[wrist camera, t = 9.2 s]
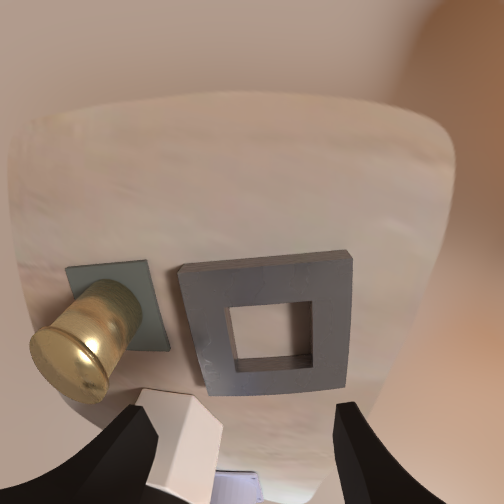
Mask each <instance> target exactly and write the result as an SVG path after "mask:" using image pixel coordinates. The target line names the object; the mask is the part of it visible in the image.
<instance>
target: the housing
mask: <svg viewBox="0 0 504 504" xmlns="http://www.w3.org/2000/svg"><path fill="white" fill-rule="evenodd" d="M177 275H178V279H179V284H180V288H181V293H182V297H183V301H184V306H185V310H186V314H187V318H188V322H189V326H190V330H191V334H192V338H193V342H194V346H195V350H196V353H197V357H198V361H199V364H200V368H201V371H202V375H203V378H204V382H205V385H206V388H207V392H208V395H209V396H256V395H276V394H290V393H302V392H312V391H321V390H329V389H337V388H344V387H345V384H346V375H347V365H348V354H349V341H350V326H351V307H352V275H353V258H352V257H351V255H350V254H349V253H348V251H347V250H338V251H327V252H316V253H305V254H293V255H282V256H271V257H259V258H248V259H236V260H225V261H213V262H201V263H189V264H184V265H183V266H182V267H181V269H180V270H179V271H178V273H177ZM303 301H310V338H311V354H307V355H296V356H284V357H271V358H254V359H238V356H237V350H236V345H235V339H234V334H233V328H232V322H231V316H230V311H229V307H240V306H255V305H268V304H280V303H292V302H303Z"/></svg>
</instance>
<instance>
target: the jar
mask: <svg viewBox="0 0 504 504" xmlns="http://www.w3.org/2000/svg"><path fill="white" fill-rule="evenodd" d="M135 405H137V406H143V408H144V410H145V412H146V413H147V415H148V417H149V419H150V421H151V423H152V425H153V427H154V429H155V430H156V432H157V434H158V436H159V439H158V444H157V450H156V455H155V459H154V462H153V465H152V468H151V471H150V473H149V476H148V479H147V482H146V485H145V488H144V491H143V493H142V496H141V499H140V503H139V504H210V500H211V494H212V488H213V483H214V477H215V471H216V465H217V459H218V453H219V448H220V442H221V436H222V430H223V425H222V424H221V423H220V422H219V421H218V420H217V419H216V418H215V417H214V416H213V415H212V414H211V413H210V412H209V411H208V410H207V409H206V408H205V407H204V406H203V405H202V404H201V403H200V402H199V401H198V400H197V399H196V398H195V397H194V396H193V395H188V394H180V393H172V392H165V391H158V390H152V389H146V388H144V389H142V391H141V393H140V395H139V397H138V399H137V401H136V403H135Z"/></svg>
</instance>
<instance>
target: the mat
mask: <svg viewBox="0 0 504 504" xmlns="http://www.w3.org/2000/svg"><path fill="white" fill-rule="evenodd" d="M65 270H66V274H67V277H68V280H69V283H70V286H71V290H72V293H73V296H74V299H75V300H76V299H77V298H78V297H79V296H80V295H81V294H82V293H84V292H85V291H86V290H87V289H88V288H89V287H90V286H91V285H92V284H93V283H94V282H96V281H98V280H101V279H111V280H115V281H117V282H119V283H121V284H123V285H124V286H126V287H127V288H128V289H129V290H131V292H132V293H133V294H134V295H135V296H136V298H137V299H138V301H139V303H140V305H141V308H142V313H143V319H142V323H141V325H140V327H139V329H138V330H137V332H136V334H135V335H134V337H133V338H132V340H131V342H130V343H129V345H128V347H127V348H126V350H134V351H166V352H169V351H170V349H171V348H170V345H169V341H168V338H167V335H166V331H165V328H164V325H163V321H162V318H161V314H160V310H159V307H158V303H157V299H156V295H155V292H154V288H153V284H152V280H151V276H150V271H149V267H148V263H147V260H137V261H126V262H115V263H104V264H93V265H83V266H72V267H67V268H66V269H65Z"/></svg>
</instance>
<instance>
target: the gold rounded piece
mask: <svg viewBox="0 0 504 504" xmlns="http://www.w3.org/2000/svg"><path fill="white" fill-rule="evenodd" d="M142 319H143V313H142V308H141V305H140V303H139V301H138V299H137V298H136V296H135V295H134V294H133V293H132V292H131V290H129V289H128V288H127V287H126V286H124V285H123V284H121V283H119V282H117V281H115V280H111V279H101V280H98V281H96V282H94V283H93V284H92V285H91V286H90V287H89V288H88V289H87V290H86V291H85V292H84V293H82V294H81V295H80V296H79V297H78V298H77V299H76V300H75V301H74V302H73V303H72V304H71V305H70V306H69V307H68V308H67V309H66V310H65V311H64V312H63V313H62V314H61V315H60V316H59V317H58V318H57V319H56V320H55V321H54V322H53V323H52V324H51V325H50V326H45V327H42V328H40V329H39V330H38V331H37V332H36V333H35V334H34V335H33V336H32V338H31V340H30V353H31V356H32V359H33V361H34V363H35V365H36V367H37V368H38V370H39V371H40V372H41V374H42V375H43V376H44V377H45V379H46V380H47V381H48V382H49V383H50V384H51V385H52V386H53V387H55V388H56V389H57V390H58V391H60V392H61V393H62V394H64V395H65V396H67V397H69V398H71V399H73V400H75V401H78V402H81V403H85V404H96V403H99V402H101V401H102V400H103V398H104V396H105V394H106V393H107V391H108V388H109V379H108V378H109V377H110V375H111V373H112V372H113V370H114V368H115V367H116V365H117V363H118V361H119V360H120V358H121V356H122V355H123V353H124V352H125V350H126V348H127V347H128V345H129V343H130V342H131V340H132V338H133V337H134V335H135V334H136V332H137V330H138V329H139V327H140V325H141V323H142Z"/></svg>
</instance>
